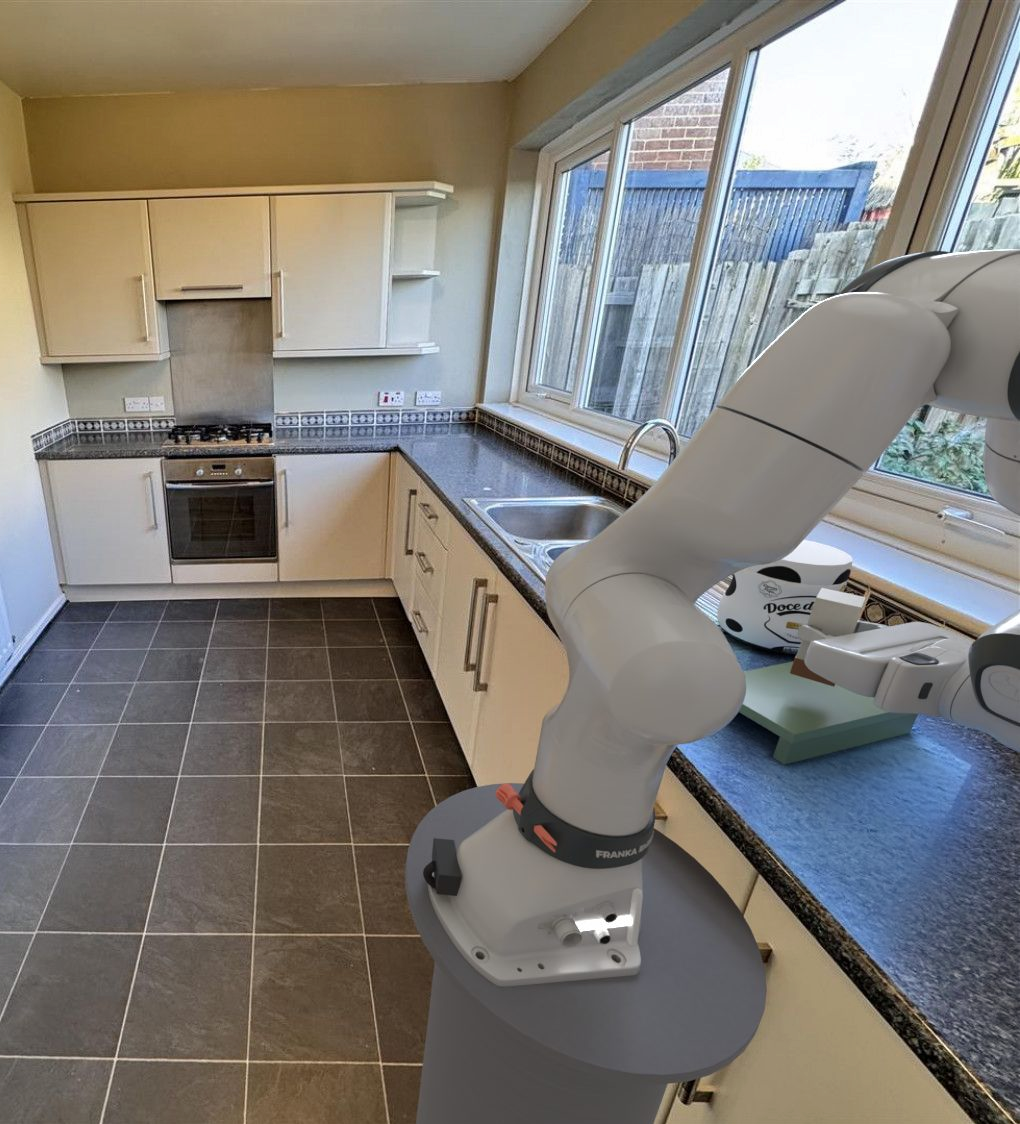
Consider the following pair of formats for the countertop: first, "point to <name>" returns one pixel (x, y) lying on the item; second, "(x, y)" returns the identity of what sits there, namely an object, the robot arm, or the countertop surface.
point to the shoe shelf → (815, 714)
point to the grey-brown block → (829, 624)
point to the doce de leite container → (781, 596)
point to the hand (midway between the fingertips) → (822, 626)
